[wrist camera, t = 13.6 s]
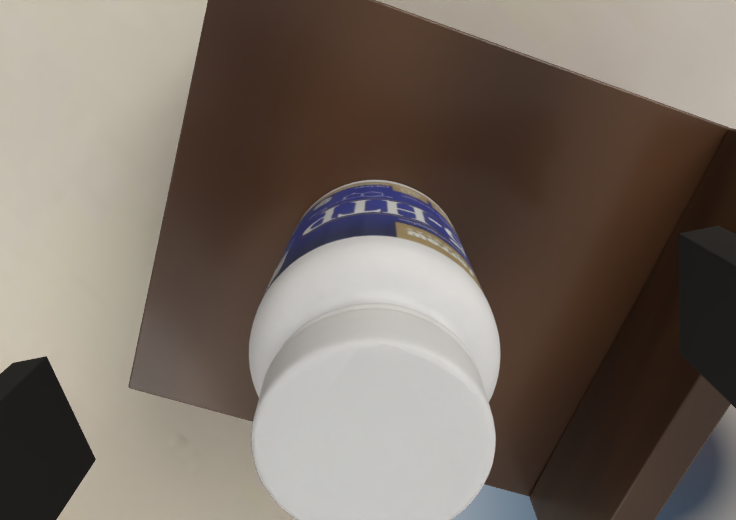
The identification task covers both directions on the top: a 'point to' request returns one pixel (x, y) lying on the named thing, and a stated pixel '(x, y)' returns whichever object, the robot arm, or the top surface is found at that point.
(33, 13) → the top surface
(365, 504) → the pill bottle
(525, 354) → the shelf
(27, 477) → the robot arm
